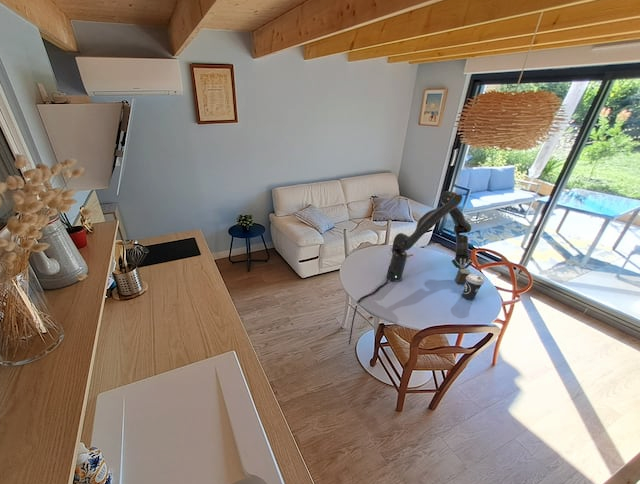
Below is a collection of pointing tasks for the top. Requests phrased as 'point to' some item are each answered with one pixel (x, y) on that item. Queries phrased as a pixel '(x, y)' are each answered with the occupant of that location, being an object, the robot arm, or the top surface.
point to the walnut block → (462, 276)
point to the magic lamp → (407, 255)
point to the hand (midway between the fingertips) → (461, 273)
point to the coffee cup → (472, 286)
